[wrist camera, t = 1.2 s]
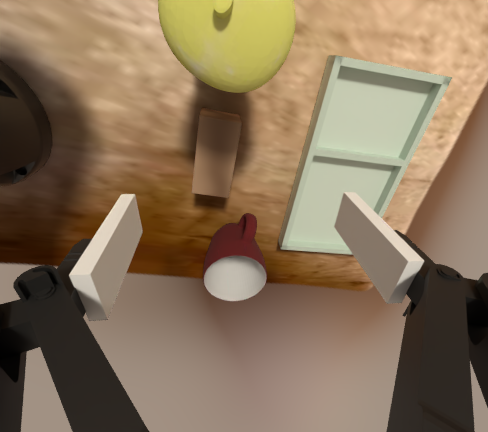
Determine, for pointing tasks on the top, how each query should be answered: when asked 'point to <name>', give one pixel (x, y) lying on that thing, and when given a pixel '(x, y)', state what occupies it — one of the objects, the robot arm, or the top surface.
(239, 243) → the mug
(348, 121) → the jig
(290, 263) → the top surface
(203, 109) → the brown rectangular block
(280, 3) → the toy
